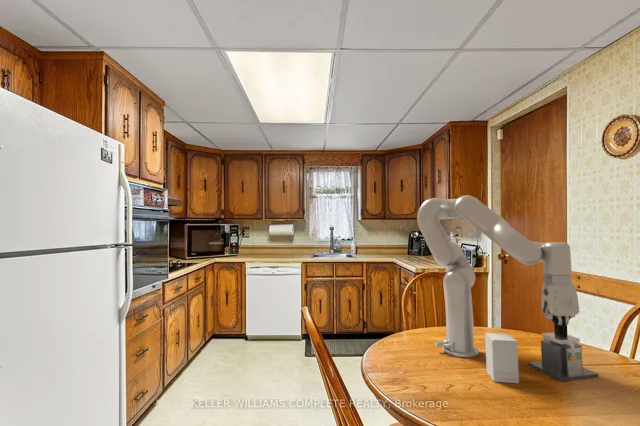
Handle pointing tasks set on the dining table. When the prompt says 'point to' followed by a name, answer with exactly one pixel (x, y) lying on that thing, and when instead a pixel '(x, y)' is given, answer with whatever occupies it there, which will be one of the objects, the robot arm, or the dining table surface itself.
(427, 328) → the dining table surface
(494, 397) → the dining table surface
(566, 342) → the grey flanged block
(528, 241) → the robot arm
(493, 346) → the supplement box
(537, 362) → the tester
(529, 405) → the dining table surface
